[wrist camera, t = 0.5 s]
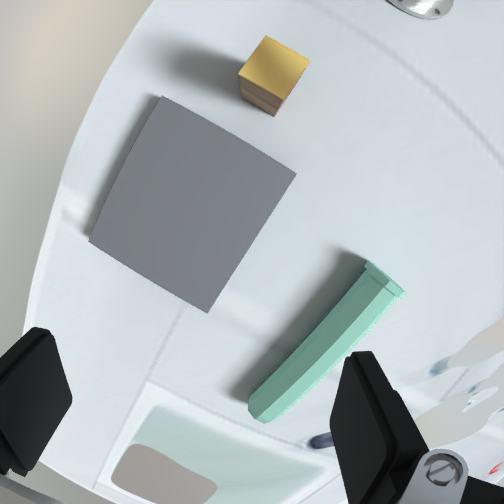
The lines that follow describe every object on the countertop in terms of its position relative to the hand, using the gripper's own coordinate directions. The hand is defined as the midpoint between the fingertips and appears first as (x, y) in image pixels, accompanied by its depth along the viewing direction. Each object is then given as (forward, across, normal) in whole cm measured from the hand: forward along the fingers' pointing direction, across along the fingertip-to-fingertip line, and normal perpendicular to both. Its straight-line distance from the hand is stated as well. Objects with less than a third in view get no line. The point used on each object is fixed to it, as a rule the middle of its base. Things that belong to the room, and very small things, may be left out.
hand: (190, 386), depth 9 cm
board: (+27, +5, -1) cm, 27 cm away
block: (+27, -3, -14) cm, 30 cm away
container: (+27, -10, +16) cm, 33 cm away
